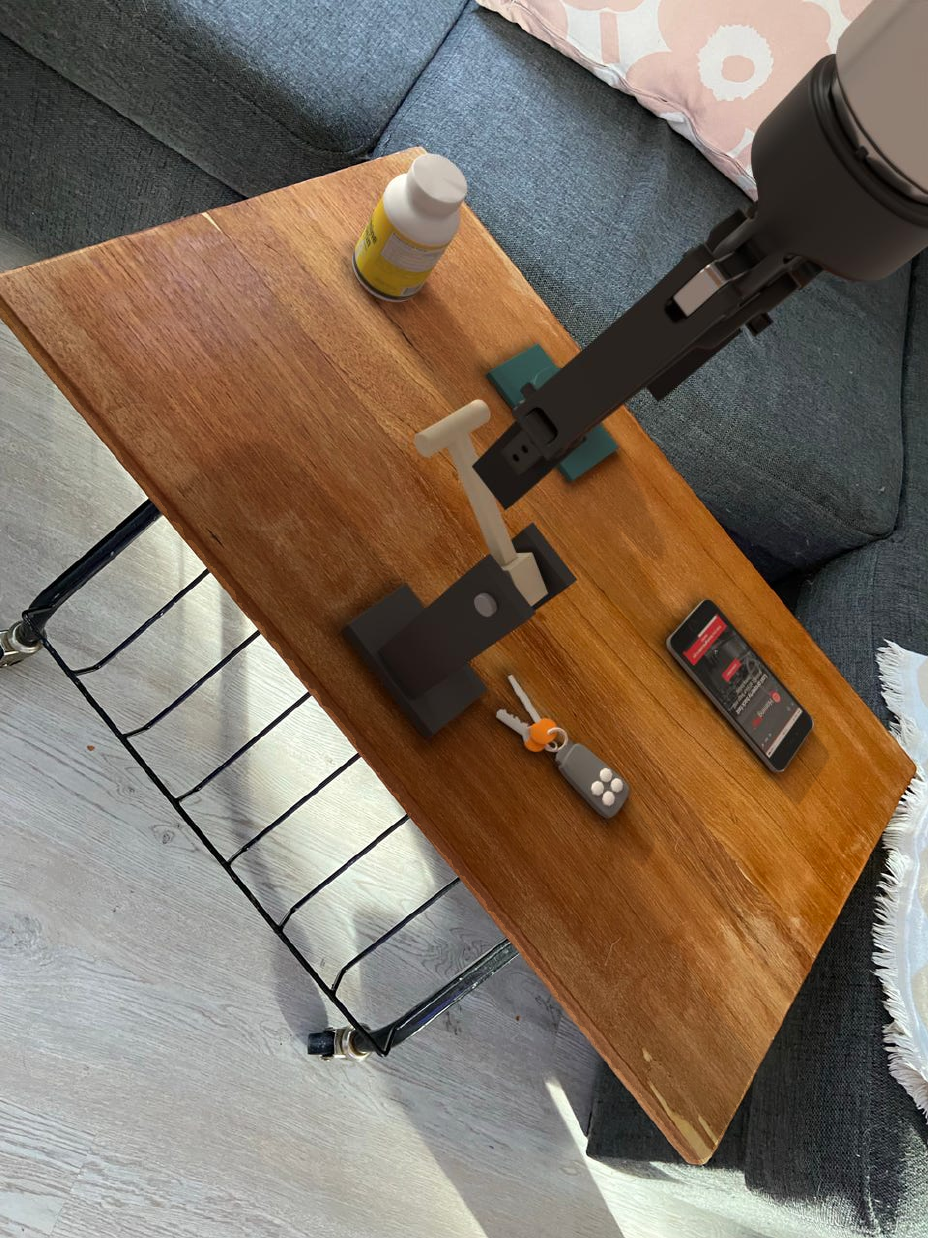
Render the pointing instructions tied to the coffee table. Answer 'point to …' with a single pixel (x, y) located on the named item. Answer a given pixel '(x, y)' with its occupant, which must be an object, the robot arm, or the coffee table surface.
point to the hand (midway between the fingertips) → (575, 429)
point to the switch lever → (482, 494)
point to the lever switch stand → (449, 633)
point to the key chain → (571, 760)
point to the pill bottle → (410, 229)
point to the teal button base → (538, 371)
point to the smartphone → (741, 685)
